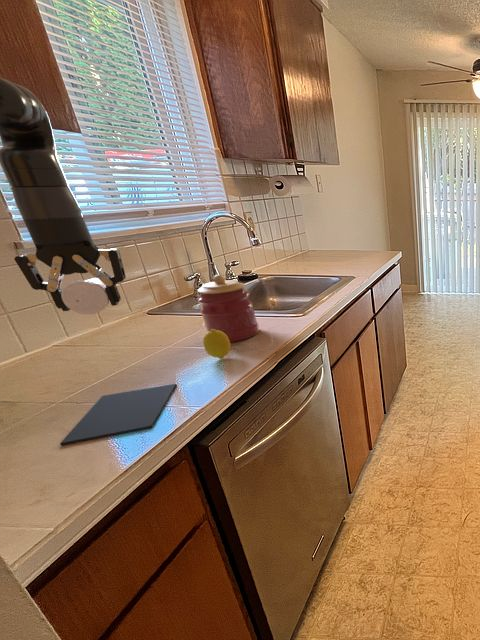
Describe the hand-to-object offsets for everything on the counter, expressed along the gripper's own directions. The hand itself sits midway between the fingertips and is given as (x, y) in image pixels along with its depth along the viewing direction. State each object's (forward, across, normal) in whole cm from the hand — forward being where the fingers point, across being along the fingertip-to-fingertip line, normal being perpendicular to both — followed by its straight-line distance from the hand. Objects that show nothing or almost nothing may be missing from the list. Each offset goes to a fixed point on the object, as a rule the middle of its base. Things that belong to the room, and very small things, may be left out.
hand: (92, 307), depth 76 cm
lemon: (+19, +17, +12) cm, 28 cm away
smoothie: (-2, 0, +8) cm, 9 cm away
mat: (+19, +1, -8) cm, 21 cm away
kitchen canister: (+19, +20, +29) cm, 41 cm away
